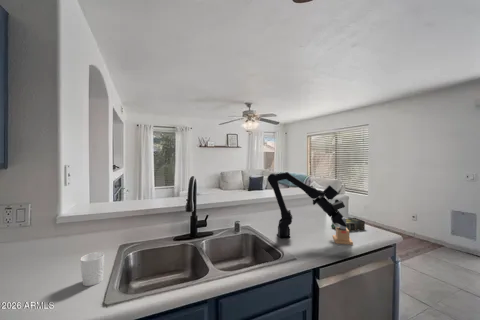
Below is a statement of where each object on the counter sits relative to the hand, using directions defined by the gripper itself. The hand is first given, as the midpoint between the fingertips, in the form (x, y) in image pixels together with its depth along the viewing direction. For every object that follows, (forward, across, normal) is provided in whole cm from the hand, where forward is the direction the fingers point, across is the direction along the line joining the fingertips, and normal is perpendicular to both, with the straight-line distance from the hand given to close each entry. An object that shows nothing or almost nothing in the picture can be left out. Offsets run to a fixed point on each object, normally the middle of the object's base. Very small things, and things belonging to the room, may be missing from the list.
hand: (345, 225), depth 128 cm
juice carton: (+12, +24, +2) cm, 27 cm away
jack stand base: (+6, 0, +8) cm, 9 cm away
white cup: (-68, -66, +83) cm, 126 cm away
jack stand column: (+4, 0, +6) cm, 8 cm away
